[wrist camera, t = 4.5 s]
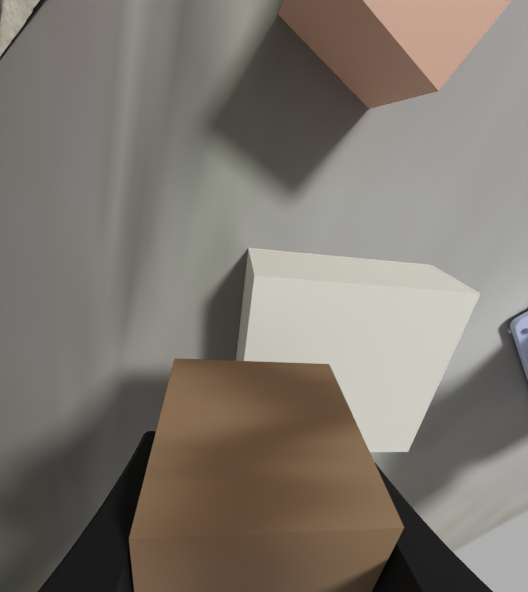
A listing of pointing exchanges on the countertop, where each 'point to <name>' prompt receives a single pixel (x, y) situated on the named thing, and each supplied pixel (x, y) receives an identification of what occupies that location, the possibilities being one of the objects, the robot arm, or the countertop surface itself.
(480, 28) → the terracotta block
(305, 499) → the walnut cube
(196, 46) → the countertop surface
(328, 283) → the base block
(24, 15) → the condiment
